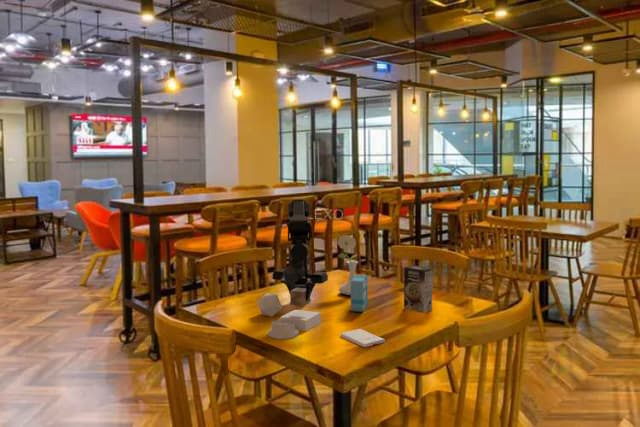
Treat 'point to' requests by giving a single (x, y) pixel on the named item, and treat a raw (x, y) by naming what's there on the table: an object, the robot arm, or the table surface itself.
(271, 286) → the table surface
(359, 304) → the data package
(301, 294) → the grey cube
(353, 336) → the external hard drive
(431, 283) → the coffee box
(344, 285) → the flower in vase
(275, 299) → the die
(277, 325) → the mechanical component
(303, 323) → the grey block
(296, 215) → the robot arm
